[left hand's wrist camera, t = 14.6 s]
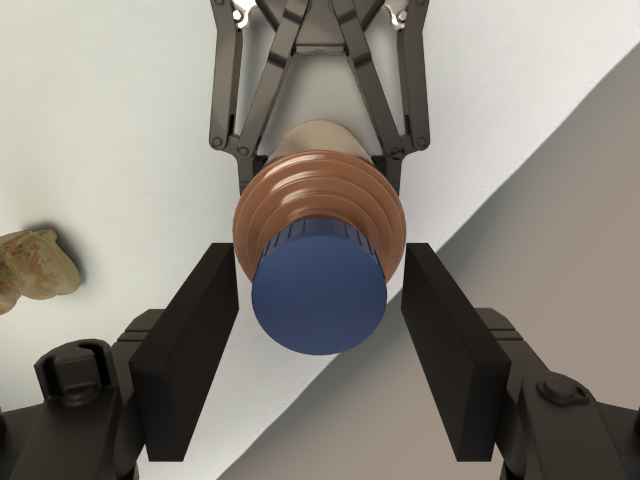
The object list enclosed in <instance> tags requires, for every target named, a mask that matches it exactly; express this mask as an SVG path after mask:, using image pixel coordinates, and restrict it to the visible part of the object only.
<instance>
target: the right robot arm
mask: <svg viewBox="0 0 640 480" xmlns="http://www.w3.org/2000/svg"><path fill="white" fill-rule="evenodd" d="M210 1H211V6H212V10H213V14H214V18H215V23H216V27H217V43H216V56H215V69H214V82H213V95H212V107H211V120H210V133H209V144H210V146H211V147H212V148H213V149H215V150H222V151H224V152H227V153H230V154H232V155H233V156H234V157H235V158H236V160H237V163H238V174H239V187H240V196H242V194H243V192H244V190H245V188H246V187H247V186H248V184H249V183H250V182H251V180H252V179H253V178H254V177H255V175H256V174H257V173H258V171H259V170H260V169H261V167H262V166H263V165H264V163H265V162H266V161H267V160H268V155H258V156H257V150H258V146H259V144H260V141H261V139H262V136H263V133H264V131H265V128H266V125H267V123H268V120H269V118H270V115H271V112H272V110H273V107H274V104H275V102H276V99H277V97H278V94H279V91H280V89H281V86H282V84H283V81H284V78H285V76H286V73H287V70H288V68H289V66H290V64H291V62H292V59H293V56H294V54H297V55H312V54H315V53H318V52H321V53H325V54H328V55H343V54H345V55H346V57H347V60H348V62H349V65H350V67H351V69H352V71H353V74H354V77H355V79H356V82H357V85H358V87H359V90H360V93H361V95H362V98H363V100H364V103H365V106H366V108H367V111H368V114H369V116H370V119H371V122H372V124H373V127H374V130H375V132H376V135H377V138H378V140H379V143H380V145H381V148H382V151H383V152H382V156H372V161H373V162H374V163H375V165H376V166H377V167H378V168H379V170H380V171H381V172H382V174H383V175H384V176H385V178H386V179H387V180H388V182H389V183H390V184H391V186H392V187H393V189H394V190H395V192H396V194H397V196H398V197H399V189H400V176H401V164H402V160H403V159H404V157H405V156H406V155H408V154H410V153H413V152H416V151H423V150H425V149H427V148H428V146H429V145H430V130H429V117H428V104H427V90H426V77H425V63H424V50H423V37H422V30H423V26H424V22H425V17H426V13H427V9H428V5H429V0H210ZM256 8H259V9H260V10H261V12H262V13H263V15H264V16H265V18H266V19H267V21H268V22H269V24H270V25H271V27H272V28H273V30H274V31H275V33H276V35H275V38H274V41H273V43H272V46H271V49H270V52H269V55H268V60H267V63H266V66H265V69H264V72H263V74H262V77H261V80H260V83H259V85H258V88H257V91H256V94H255V96H254V99H253V102H252V105H251V108H250V110H249V113H248V116H247V119H246V121H245V124H244V127H243V130H242V132H241V135H240V136H239V135H236V134H234V127H235V117H236V107H237V97H238V87H239V77H240V67H241V57H242V47H243V34H242V30H243V29H246V28H247V27H248V26H249V24H250V16H251V13H252V11H253V10H254V9H256ZM381 8H383V9H385V10H386V11H387V12H388V14H389V22H390V25H391V27H392V28H393V29H395V30H398V31H397V51H398V62H399V72H400V83H401V93H402V103H403V114H404V124H405V134H404V135H401V136H399V134H398V131H397V129H396V126H395V123H394V120H393V117H392V115H391V112H390V109H389V106H388V104H387V101H386V98H385V95H384V92H383V90H382V87H381V84H380V81H379V78H378V76H377V73H376V70H375V67H374V64H373V62H372V57H371V53H370V50H369V47H368V44H367V41H366V39H365V36H364V32H365V31H366V29H367V28H368V27H369V25H370V24H371V22H372V21H373V19H374V18H375V16H376V15H377V13H378V12H379V10H380V9H381Z"/></svg>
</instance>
